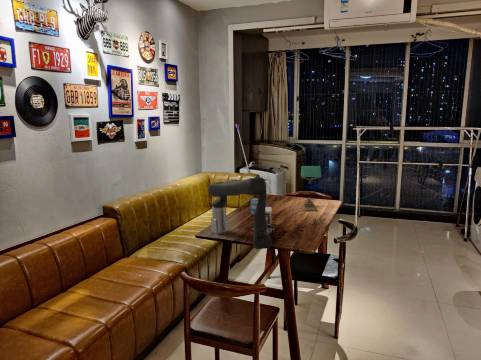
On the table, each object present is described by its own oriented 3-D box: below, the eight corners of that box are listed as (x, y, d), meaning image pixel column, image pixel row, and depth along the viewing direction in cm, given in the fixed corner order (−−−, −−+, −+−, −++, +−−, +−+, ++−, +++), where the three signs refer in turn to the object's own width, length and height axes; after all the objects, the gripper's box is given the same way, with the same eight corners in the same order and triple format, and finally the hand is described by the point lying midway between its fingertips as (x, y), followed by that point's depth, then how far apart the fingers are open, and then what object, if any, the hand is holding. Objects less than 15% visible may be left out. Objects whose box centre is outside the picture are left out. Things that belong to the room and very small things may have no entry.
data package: (250, 214, 277) (250, 199, 275) (252, 212, 282) (252, 198, 279) (265, 215, 274) (266, 200, 272) (267, 213, 279) (267, 198, 276)
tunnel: (255, 232, 234) (255, 211, 232) (255, 227, 245) (255, 206, 242) (271, 232, 233) (271, 211, 231) (271, 227, 244) (271, 207, 241)
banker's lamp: (318, 205, 302) (319, 164, 296) (321, 212, 282) (322, 168, 276) (299, 205, 304) (300, 164, 297) (301, 211, 283) (302, 168, 277)
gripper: (274, 226, 212) (274, 218, 229) (250, 226, 213) (252, 218, 230) (274, 238, 214) (274, 229, 230) (250, 238, 215) (252, 229, 231)
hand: (263, 224), depth 230 cm, fingers closed on maple block, 5 cm apart
